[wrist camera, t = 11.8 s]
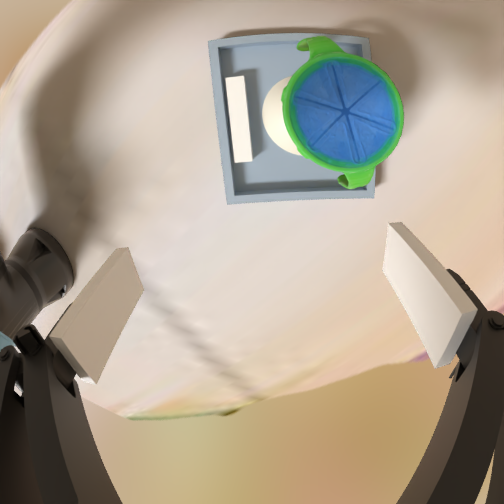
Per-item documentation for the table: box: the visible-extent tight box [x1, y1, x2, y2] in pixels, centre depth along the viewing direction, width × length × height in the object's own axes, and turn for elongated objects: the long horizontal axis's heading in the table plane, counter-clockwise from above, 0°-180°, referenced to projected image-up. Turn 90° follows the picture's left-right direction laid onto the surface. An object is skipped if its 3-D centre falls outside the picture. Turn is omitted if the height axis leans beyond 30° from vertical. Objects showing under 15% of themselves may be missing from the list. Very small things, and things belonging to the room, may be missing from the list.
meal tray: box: [208, 33, 376, 205], centre depth 28 cm, size 18×20×3 cm
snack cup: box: [281, 36, 404, 189], centre depth 23 cm, size 16×10×10 cm
